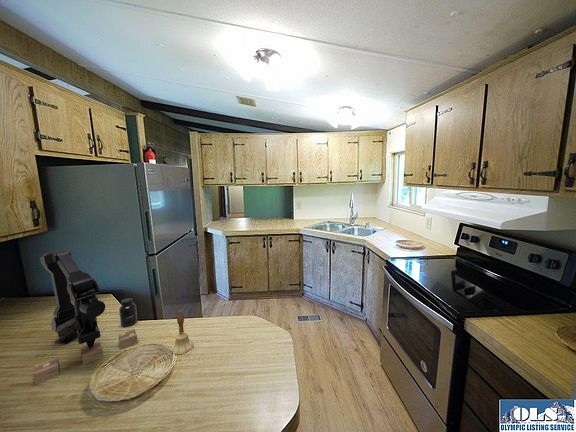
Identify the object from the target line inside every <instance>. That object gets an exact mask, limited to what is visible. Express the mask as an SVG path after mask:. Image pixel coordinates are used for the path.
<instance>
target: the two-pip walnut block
mask: <svg viewBox="0 0 576 432" xmlns="http://www.w3.org/2000/svg"><path fill="white" fill-rule="evenodd" d="M117 335H118V337H117V338H118V342H119V343H118V344H119V348H120V350H123V349H126V348H129V347H132V346H134V345H137V344H138V343H139V341H138V335H137V332H136V329H135V328H133V329H130V330H127V331H124V332H120V333H118V334H117Z"/></svg>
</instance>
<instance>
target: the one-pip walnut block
mask: <svg viewBox="0 0 576 432" xmlns="http://www.w3.org/2000/svg"><path fill="white" fill-rule="evenodd" d="M34 365H35V366H34V370H33V374H32V375H33V380H34V385H39V384H40V383H43V382H46V381H48V380H50V379H53V378H56V377H58V376H60V369H61V368H60V367H61V366H60V360H59V356H57V357H54V358H50V359H49V360H46V361H43V362H40V363H37V364H34Z"/></svg>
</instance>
